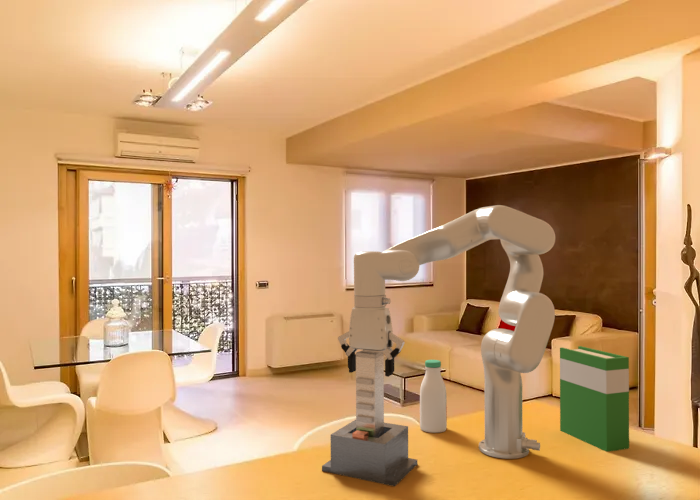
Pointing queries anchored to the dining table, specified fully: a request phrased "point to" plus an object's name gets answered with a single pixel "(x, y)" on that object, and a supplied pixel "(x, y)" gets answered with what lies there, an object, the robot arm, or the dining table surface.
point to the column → (370, 392)
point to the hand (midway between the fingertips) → (370, 373)
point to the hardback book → (595, 397)
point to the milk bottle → (433, 399)
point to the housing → (371, 454)
